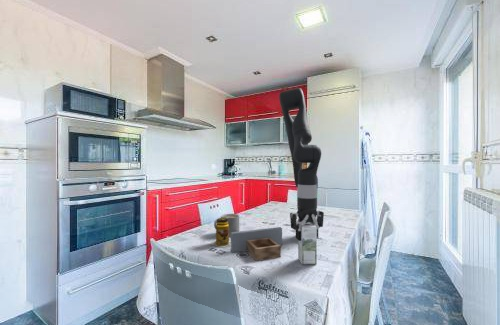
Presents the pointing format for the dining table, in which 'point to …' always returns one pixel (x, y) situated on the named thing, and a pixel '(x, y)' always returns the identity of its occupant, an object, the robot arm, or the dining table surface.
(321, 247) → the dining table surface
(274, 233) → the backstop wall
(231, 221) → the coffee mug
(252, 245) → the socket block
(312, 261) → the syrup box
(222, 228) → the condiment
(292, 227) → the robot arm
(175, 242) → the dining table surface
